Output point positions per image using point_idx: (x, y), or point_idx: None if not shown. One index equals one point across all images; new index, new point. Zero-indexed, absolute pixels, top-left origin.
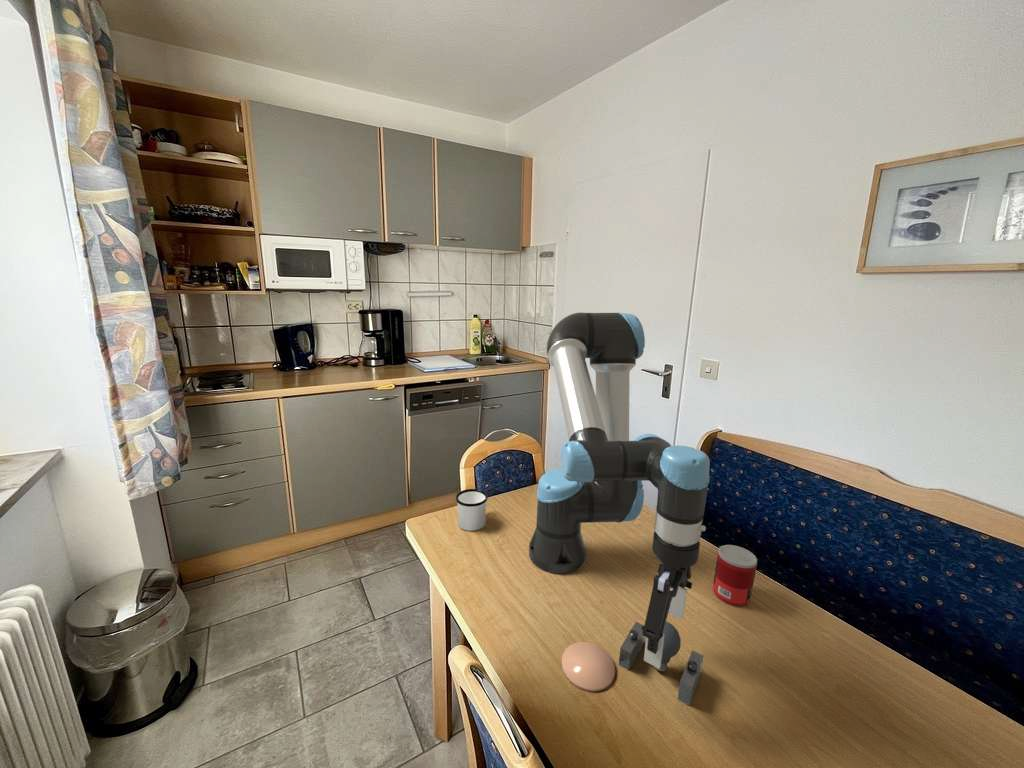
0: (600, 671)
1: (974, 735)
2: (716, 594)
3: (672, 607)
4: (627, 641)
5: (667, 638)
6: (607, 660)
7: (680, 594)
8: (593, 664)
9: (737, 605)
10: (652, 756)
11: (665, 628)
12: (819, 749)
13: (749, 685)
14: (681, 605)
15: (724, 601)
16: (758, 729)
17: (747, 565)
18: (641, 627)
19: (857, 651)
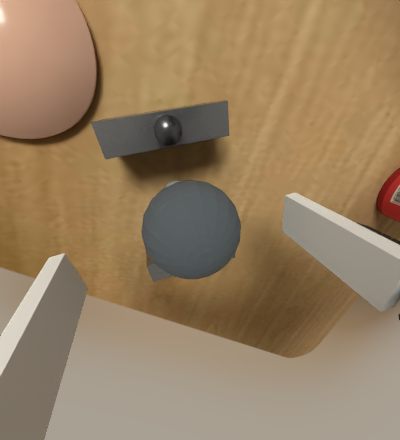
0: (21, 95)
1: (297, 348)
2: (396, 175)
3: (304, 218)
4: (134, 126)
5: (172, 273)
6: (73, 88)
7: (360, 276)
8: (13, 58)
9: (378, 207)
10: (16, 268)
11: (194, 266)
12: (214, 328)
13: (244, 273)
14: (317, 253)
15: (382, 190)
16: (192, 302)
17: None
18: (217, 128)
19: (345, 297)
